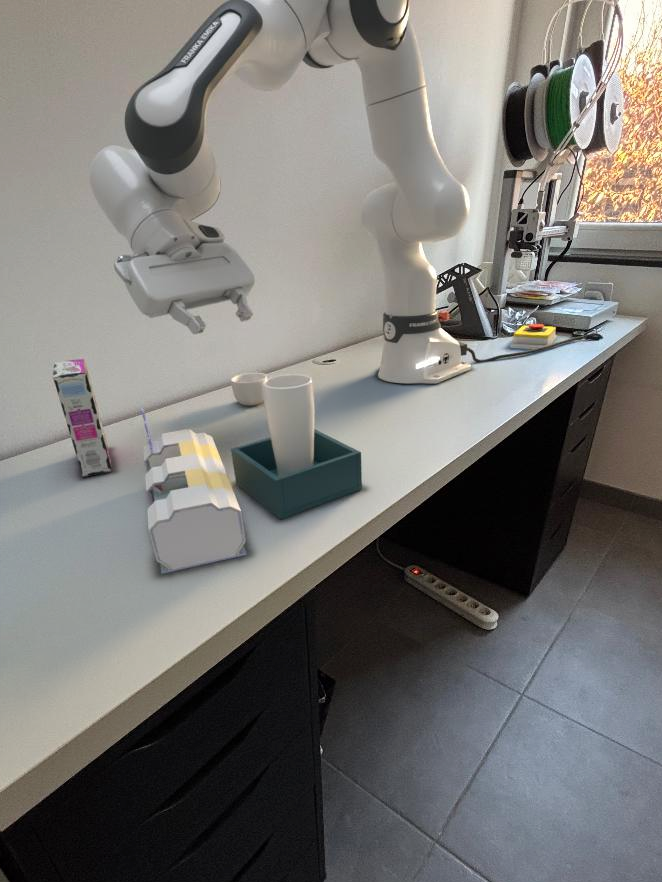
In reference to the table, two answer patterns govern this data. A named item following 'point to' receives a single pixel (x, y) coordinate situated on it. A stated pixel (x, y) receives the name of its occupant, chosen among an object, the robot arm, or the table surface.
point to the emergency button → (533, 336)
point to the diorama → (191, 503)
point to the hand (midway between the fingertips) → (225, 324)
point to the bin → (297, 475)
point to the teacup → (248, 388)
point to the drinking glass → (290, 420)
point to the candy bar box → (82, 416)
